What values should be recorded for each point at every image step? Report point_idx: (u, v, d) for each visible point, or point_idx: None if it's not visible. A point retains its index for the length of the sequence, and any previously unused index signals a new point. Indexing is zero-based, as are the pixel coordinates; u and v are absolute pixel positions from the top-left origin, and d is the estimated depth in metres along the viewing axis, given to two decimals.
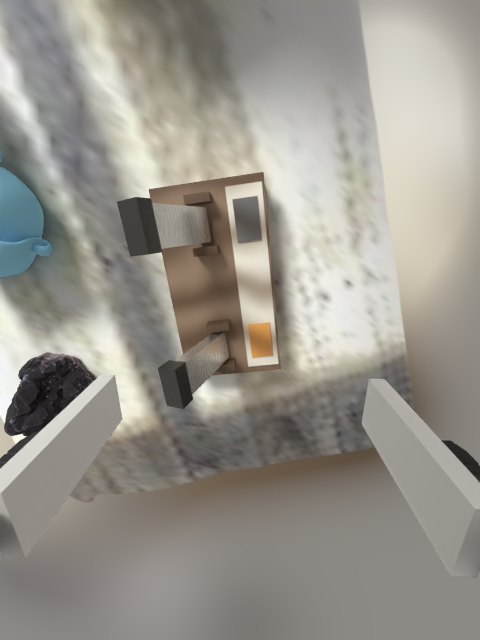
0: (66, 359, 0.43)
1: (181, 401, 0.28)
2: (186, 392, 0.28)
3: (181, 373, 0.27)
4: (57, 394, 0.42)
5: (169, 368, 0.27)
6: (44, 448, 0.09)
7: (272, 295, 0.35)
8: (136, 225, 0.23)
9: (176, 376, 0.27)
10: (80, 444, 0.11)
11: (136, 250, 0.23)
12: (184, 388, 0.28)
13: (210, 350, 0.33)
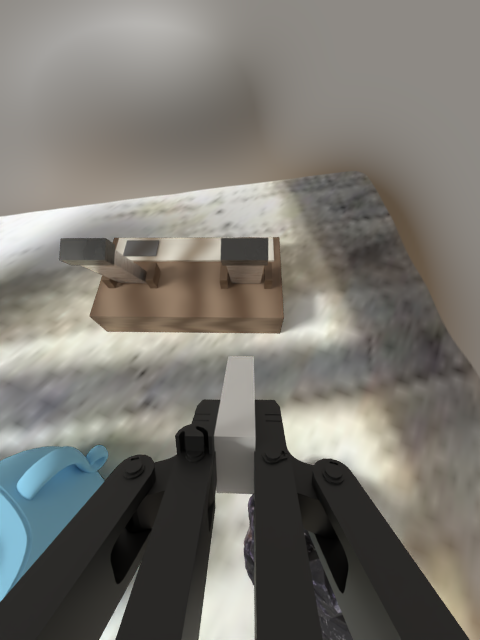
0: (252, 495, 0.28)
1: (259, 238, 0.25)
2: None
3: None
4: None
5: (221, 246, 0.26)
6: (236, 408, 0.11)
7: (207, 238, 0.41)
8: (81, 244, 0.26)
9: (229, 238, 0.26)
10: None
11: (100, 251, 0.26)
12: None
13: None
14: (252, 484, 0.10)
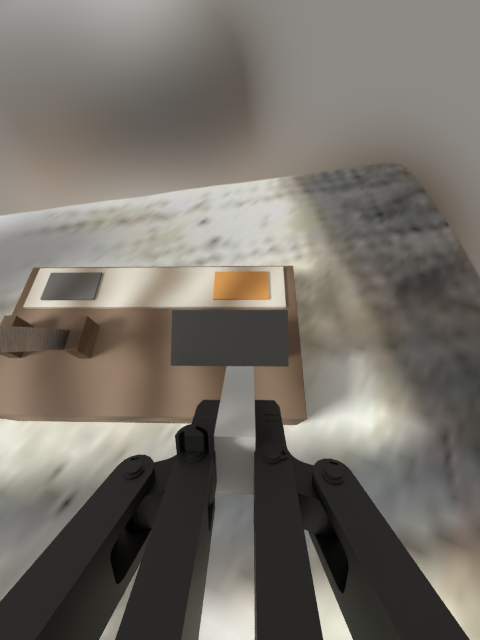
0: None
1: (265, 311, 0.10)
2: None
3: None
4: None
5: (172, 330, 0.11)
6: (236, 408, 0.11)
7: None
8: None
9: (191, 310, 0.11)
10: None
11: None
12: None
13: None
14: (252, 484, 0.10)
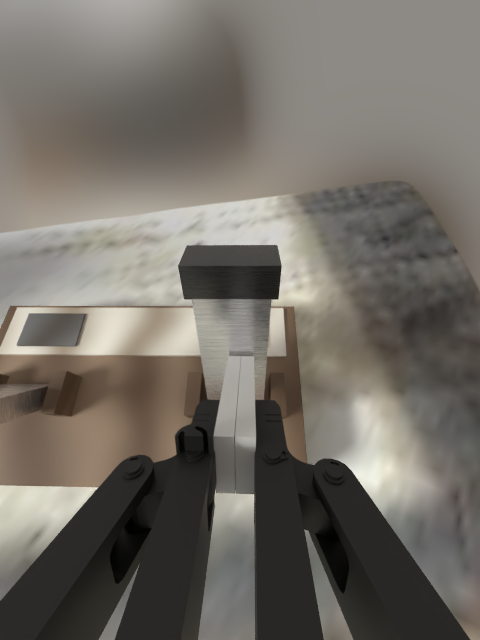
0: None
1: (259, 246, 0.13)
2: None
3: None
4: None
5: (184, 255, 0.13)
6: (236, 408, 0.11)
7: (169, 308, 0.24)
8: None
9: (202, 247, 0.14)
10: None
11: None
12: None
13: None
14: (253, 484, 0.10)
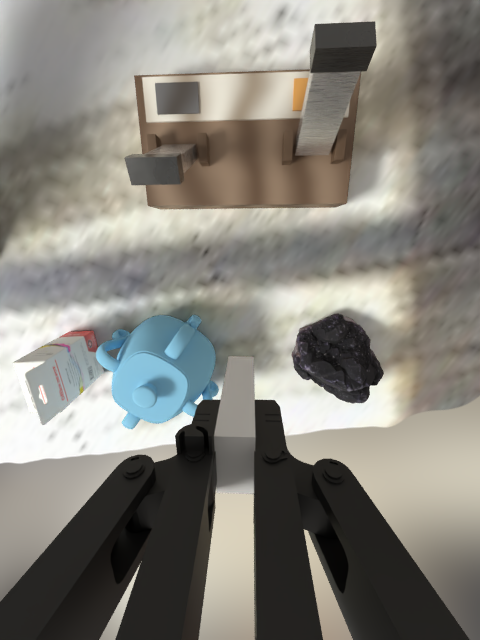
0: (299, 333, 0.43)
1: (363, 23, 0.20)
2: None
3: None
4: (333, 348, 0.40)
5: (314, 35, 0.21)
6: (236, 408, 0.11)
7: (261, 73, 0.30)
8: (150, 165, 0.23)
9: (324, 25, 0.21)
10: None
11: (174, 173, 0.24)
12: None
13: None
14: (252, 484, 0.10)
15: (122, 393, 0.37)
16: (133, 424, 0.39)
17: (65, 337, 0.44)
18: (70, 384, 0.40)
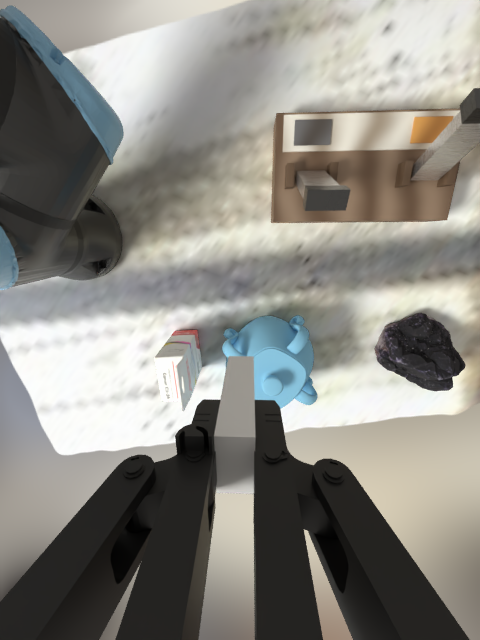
0: (387, 330, 0.48)
1: None
2: None
3: None
4: (421, 342, 0.46)
5: (473, 97, 0.26)
6: (236, 408, 0.11)
7: (386, 112, 0.36)
8: (326, 196, 0.29)
9: None
10: None
11: (343, 202, 0.29)
12: None
13: None
14: (252, 484, 0.10)
15: None
16: None
17: (178, 335, 0.49)
18: (192, 376, 0.46)
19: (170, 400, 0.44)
